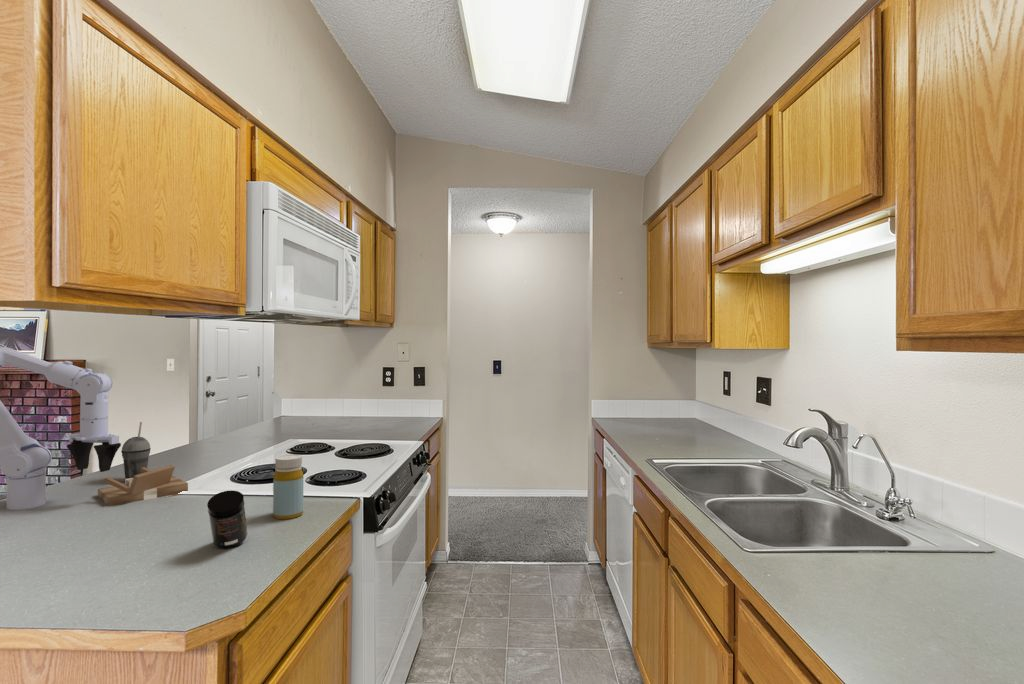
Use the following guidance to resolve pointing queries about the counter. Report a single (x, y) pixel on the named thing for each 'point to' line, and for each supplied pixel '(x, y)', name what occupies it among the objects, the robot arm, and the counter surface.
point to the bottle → (288, 487)
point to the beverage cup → (135, 455)
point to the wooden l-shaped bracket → (145, 480)
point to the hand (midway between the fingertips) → (93, 470)
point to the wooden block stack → (120, 497)
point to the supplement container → (227, 519)
